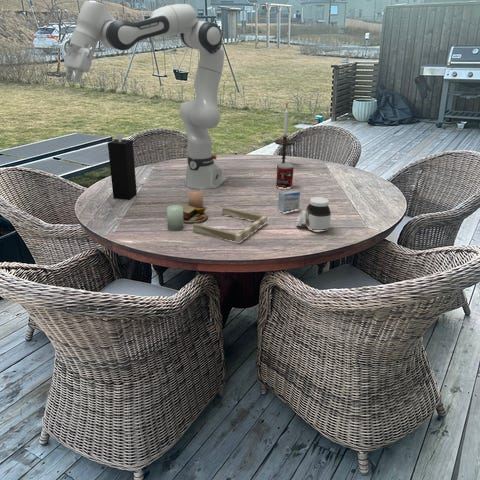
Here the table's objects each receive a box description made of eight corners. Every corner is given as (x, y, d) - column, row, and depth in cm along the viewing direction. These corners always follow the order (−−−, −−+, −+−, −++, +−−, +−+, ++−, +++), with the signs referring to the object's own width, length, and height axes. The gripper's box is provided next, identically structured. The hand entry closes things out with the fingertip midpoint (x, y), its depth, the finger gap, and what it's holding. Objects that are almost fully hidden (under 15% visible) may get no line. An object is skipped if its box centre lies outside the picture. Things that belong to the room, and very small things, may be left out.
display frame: (224, 213, 182) (224, 206, 181) (266, 223, 174) (267, 216, 172) (193, 232, 165) (192, 224, 164) (238, 243, 156) (239, 236, 155)
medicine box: (282, 214, 183) (284, 194, 180) (277, 211, 187) (278, 191, 183) (298, 211, 187) (300, 192, 183) (292, 208, 190) (294, 188, 186)
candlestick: (287, 170, 244) (291, 104, 229) (270, 167, 249) (273, 102, 234) (296, 166, 252) (301, 102, 237) (279, 163, 257) (283, 100, 243)
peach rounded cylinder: (194, 204, 192) (193, 188, 189) (205, 206, 190) (205, 191, 187) (185, 208, 187) (185, 192, 185) (197, 211, 185) (197, 194, 182)
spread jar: (331, 233, 167) (335, 203, 162) (304, 236, 164) (306, 206, 159) (317, 221, 177) (320, 193, 172) (291, 223, 174) (293, 195, 169)
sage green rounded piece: (174, 223, 172) (173, 203, 169) (186, 226, 169) (186, 206, 166) (164, 228, 167) (163, 208, 164) (177, 232, 165) (176, 211, 161)
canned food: (274, 188, 214) (275, 166, 210) (279, 184, 221) (280, 162, 216) (289, 190, 212) (290, 168, 207) (293, 186, 218) (295, 164, 214)
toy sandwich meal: (196, 227, 170) (196, 215, 168) (167, 220, 176) (167, 209, 174) (213, 216, 180) (213, 205, 178) (185, 210, 186) (185, 199, 184)
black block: (129, 200, 195) (124, 136, 183) (113, 199, 196) (106, 134, 184) (137, 194, 202) (132, 132, 190) (121, 193, 203) (115, 131, 191)
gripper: (100, 49, 158) (88, 87, 160) (82, 48, 174) (71, 82, 175) (83, 40, 154) (71, 79, 156) (66, 40, 169) (55, 75, 171)
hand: (71, 81), depth 166 cm, fingers open, 8 cm apart
